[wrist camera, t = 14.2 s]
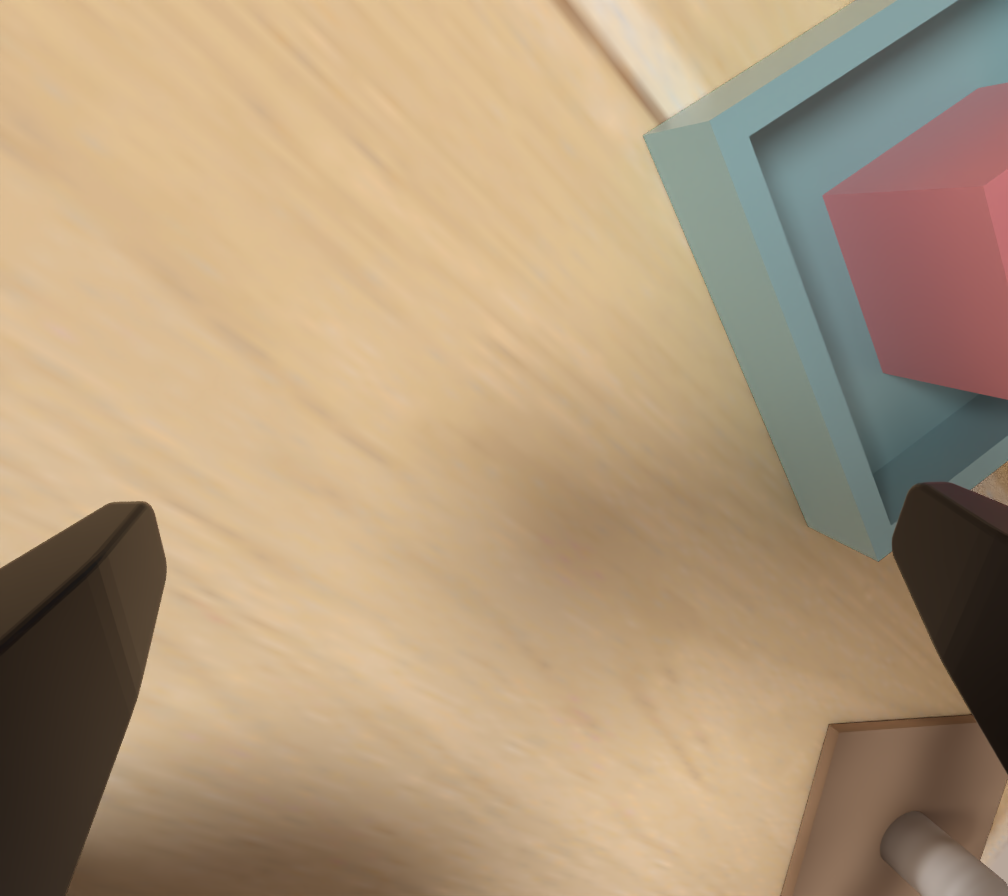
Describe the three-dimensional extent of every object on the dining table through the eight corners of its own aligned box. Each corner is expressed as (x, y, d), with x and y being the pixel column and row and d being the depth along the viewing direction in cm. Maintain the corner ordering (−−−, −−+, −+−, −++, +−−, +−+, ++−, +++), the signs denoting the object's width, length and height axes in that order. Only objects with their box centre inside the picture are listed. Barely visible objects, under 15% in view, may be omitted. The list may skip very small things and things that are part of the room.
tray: (807, 526, 26) (878, 561, 23) (643, 135, 20) (709, 120, 18) (1098, 306, 28) (1195, 314, 25) (1018, -103, 22) (1130, -150, 20)
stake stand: (765, 951, 31) (839, 1048, 27) (829, 724, 28) (919, 796, 25) (948, 915, 34) (1035, 996, 31) (1016, 712, 32) (1118, 773, 29)
